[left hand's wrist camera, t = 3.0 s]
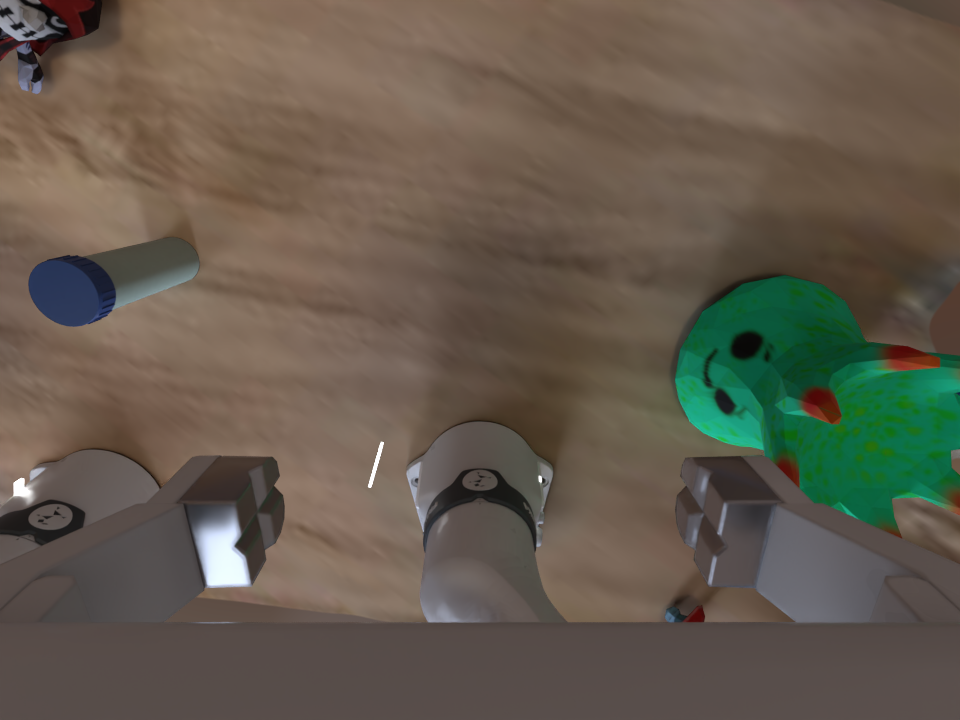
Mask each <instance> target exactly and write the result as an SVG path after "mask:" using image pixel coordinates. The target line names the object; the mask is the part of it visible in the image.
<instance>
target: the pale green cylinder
mask: <svg viewBox="0 0 960 720" xmlns="http://www.w3.org/2000/svg"><path fill="white" fill-rule="evenodd" d="M85 257H86V258H87V259H89V260H92V261H94V262H95V263H97V264H98V265H99V266H101V267H102V268H103V269H104V270H105V271H106V272H107V274H108V275H109V276H110V278H111V280H112V281H113V284H114V287H115V291H116V302H115V305H114V307H113V309H116V308H119V307H121V306H124V305H126V304H129V303H131V302H134V301H137V300H139V299H142V298H144V297H147V296H149V295H152V294H155V293H157V292H160V291H162V290H165V289H168V288H170V287H173V286H175V285H178V284H180V283H183V282H186V281H188V280H190V279H192V278H193V277H194V276H195V275H196V274H197V272H198V269H199V258H198V255H197V253H196V251H195V250H194V248H193V247H192V246H191V245H190V244H189V243H187V242H186V241H184V240H182V239H180V238H176V237H169V238H164V239H160V240H155V241H151V242H146V243H142V244H137V245H133V246H129V247H124V248H120V249H115V250H111V251H106V252H102V253H97V254H93V255H89V256H84V258H85ZM113 309H112V310H113Z"/></svg>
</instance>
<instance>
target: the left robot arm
mask: <svg viewBox="0 0 960 720" xmlns="http://www.w3.org/2000/svg"><path fill="white" fill-rule="evenodd" d="M383 443H384V442H381V444H380V447H379V450H378V454H377V458H376V461H375V465H374V468H373V472H372V475H371V479H370V483H369V486H368V487H370V488H371V485H372V482H373V479H374V475H375V472H376V468H377V465H378V461H379V458H380V454H381V451H382V447H383ZM279 477H280V474H279V469H278V464H277V461H276V460H275V459H274V458H273V457H260V456H220V455H215V456H195V457H192V458H191V459H190V460H189V461H188V462H187V463H186V464H185V465H184V466H183V467H182V468H181V469H180V470H179V471H178V472H177V473H176V474H175V475H174V476H173V477H172V478H171V479H170V480H169V481H168V482H167V483H166V484H165V485H164V486H163V487H162V488H161V489H160V490H159V491H158V492H157V493H156V494H155V495H154V496H153V497H152V498H151V499H149V500H148V501H147V502H146V503H137V504H135V505H132V506H130V507H128V508H126V509H123V510H121V511H119V512H117V513H114V514H112V515H110V516H108V517H105V518H103V519H101V520H99V521H96V522H94V523H92V524H90V525H87V526H85V527H83V528H81V529H78V530H76V531H74V532H72V533H69V534H67V535H65V536H63V537H60V538H58V539H56V540H54V541H51V542H49V543H47V544H45V545H42V546H40V547H38V548H36V549H33V550H31V551H29V552H27V553H24V554H22V555H20V556H18V557H15V558H13V559H11V560H9V561H6V562H4V563H2V564H0V720H960V564H958V563H956V562H953V561H951V560H949V559H947V558H944V557H942V556H940V555H938V554H935V553H933V552H931V551H929V550H926V549H924V548H922V547H920V546H917V545H915V544H913V543H911V542H908V541H906V540H904V539H902V538H899V537H897V536H895V535H893V534H890V533H888V532H886V531H884V530H881V529H879V528H877V527H875V526H872V525H870V524H868V523H866V522H863V521H861V520H859V519H857V518H854V517H852V516H850V515H848V514H845V513H843V512H841V511H839V510H837V509H834V508H832V507H830V506H828V505H825V504H823V503H814V502H813V501H812V500H811V499H810V498H809V497H808V496H807V495H806V494H805V493H804V492H803V491H801V490H800V489H799V488H798V487H797V486H796V485H795V484H794V483H793V482H792V481H791V480H790V479H789V478H788V477H787V476H786V475H785V474H784V473H783V472H782V471H781V470H780V469H779V468H778V467H777V466H776V465H775V464H774V463H773V462H772V461H771V460H770V459H769V458H768V457H765V456H763V455H755V456H725V457H689V458H685V460H684V462H683V464H682V468H681V474H680V477H681V478H682V480H683V481H684V483H685V484H686V486H685V487H684V488H683V489H682V491H681V492H680V493H679V494H678V495H677V499H676V507H675V512H676V523H677V527H678V530H679V533H680V535H681V537H682V539H683V541H684V543H685V544H687V545H688V546H690V547H691V548H693V549H694V550H695V555H694V561H695V563H696V565H697V567H698V569H699V570H700V572H701V574H702V576H703V578H704V579H705V581H706V583H707V585H708V586H710V587H746V588H756V591H758V592H759V593H760V594H761V595H763V596H764V597H765V598H766V599H768V600H769V601H770V602H772V603H773V604H774V605H775V606H777V607H778V608H779V609H780V610H782V611H783V612H784V613H786V614H787V615H788V616H789V617H791V618H792V619H793V620H794V621H796V622H567V621H566V620H565V619H564V617H563V616H562V615H561V614H560V613H559V612H558V611H557V609H556V608H555V607H554V606H553V604H552V603H551V601H550V600H549V598H548V597H547V595H546V593H545V591H544V589H543V586H542V582H541V579H540V575H539V571H538V567H537V562H536V557H535V551H536V547H539V546H540V545H541V542H542V529H541V528H539V527H538V526H539V524H543V523H544V512H543V509H544V505H545V502H546V498H547V495H548V491H549V488H550V484H551V481H552V478H553V467H552V465H551V464H550V463H549V462H547V461H546V460H544V459H543V458H541V457H539V456H537V455H536V454H535V453H534V452H533V451H532V450H531V448H530V447H529V445H528V444H527V443H526V442H525V440H524V439H523V438H522V437H521V436H520V435H518V434H517V433H516V432H514V431H513V430H511V429H509V428H507V427H505V426H502V425H499V424H496V423H491V422H469V423H464V424H461V425H458V426H455V427H453V428H451V429H449V430H447V431H446V432H444V433H443V434H442V435H440V436H439V437H438V438H437V439H436V440H435V442H434V443H433V444H432V445H431V447H430V448H429V450H428V451H427V452H426V453H425V454H424V455H423V456H421V457H419V458H418V459H416V460H414V461H413V462H411V463H410V464H409V465H408V467H407V478H408V481H409V484H410V488H411V491H412V495H413V498H414V502H415V505H416V508H417V512H418V515H419V519H420V522H421V526H422V529H423V535H424V537H423V546H424V551H425V559H424V566H423V573H422V580H421V588H420V601H421V606H422V610H423V613H424V615H425V617H426V619H427V621H428V622H164V621H166V620H167V619H168V618H170V617H171V616H172V615H173V614H175V613H176V612H177V611H178V610H180V609H181V608H182V607H183V606H185V605H186V604H187V603H189V602H190V601H191V600H192V599H194V598H195V597H196V596H198V595H199V594H200V593H201V592H203V591H204V588H214V587H249V586H252V585H253V583H254V581H255V579H256V578H257V576H258V574H259V572H260V570H261V569H262V567H263V565H264V563H265V561H266V555H265V550H266V549H267V548H269V547H270V546H272V545H273V544H275V543H276V541H277V539H278V537H279V535H280V533H281V530H282V526H283V521H284V509H285V506H284V499H283V495H282V494H281V493H280V492H279V491H278V489H277V488H276V487H275V486H274V484H275V483H276V481H277V480H278V478H279ZM416 478H418V480H416ZM542 478H544V480H542Z"/></svg>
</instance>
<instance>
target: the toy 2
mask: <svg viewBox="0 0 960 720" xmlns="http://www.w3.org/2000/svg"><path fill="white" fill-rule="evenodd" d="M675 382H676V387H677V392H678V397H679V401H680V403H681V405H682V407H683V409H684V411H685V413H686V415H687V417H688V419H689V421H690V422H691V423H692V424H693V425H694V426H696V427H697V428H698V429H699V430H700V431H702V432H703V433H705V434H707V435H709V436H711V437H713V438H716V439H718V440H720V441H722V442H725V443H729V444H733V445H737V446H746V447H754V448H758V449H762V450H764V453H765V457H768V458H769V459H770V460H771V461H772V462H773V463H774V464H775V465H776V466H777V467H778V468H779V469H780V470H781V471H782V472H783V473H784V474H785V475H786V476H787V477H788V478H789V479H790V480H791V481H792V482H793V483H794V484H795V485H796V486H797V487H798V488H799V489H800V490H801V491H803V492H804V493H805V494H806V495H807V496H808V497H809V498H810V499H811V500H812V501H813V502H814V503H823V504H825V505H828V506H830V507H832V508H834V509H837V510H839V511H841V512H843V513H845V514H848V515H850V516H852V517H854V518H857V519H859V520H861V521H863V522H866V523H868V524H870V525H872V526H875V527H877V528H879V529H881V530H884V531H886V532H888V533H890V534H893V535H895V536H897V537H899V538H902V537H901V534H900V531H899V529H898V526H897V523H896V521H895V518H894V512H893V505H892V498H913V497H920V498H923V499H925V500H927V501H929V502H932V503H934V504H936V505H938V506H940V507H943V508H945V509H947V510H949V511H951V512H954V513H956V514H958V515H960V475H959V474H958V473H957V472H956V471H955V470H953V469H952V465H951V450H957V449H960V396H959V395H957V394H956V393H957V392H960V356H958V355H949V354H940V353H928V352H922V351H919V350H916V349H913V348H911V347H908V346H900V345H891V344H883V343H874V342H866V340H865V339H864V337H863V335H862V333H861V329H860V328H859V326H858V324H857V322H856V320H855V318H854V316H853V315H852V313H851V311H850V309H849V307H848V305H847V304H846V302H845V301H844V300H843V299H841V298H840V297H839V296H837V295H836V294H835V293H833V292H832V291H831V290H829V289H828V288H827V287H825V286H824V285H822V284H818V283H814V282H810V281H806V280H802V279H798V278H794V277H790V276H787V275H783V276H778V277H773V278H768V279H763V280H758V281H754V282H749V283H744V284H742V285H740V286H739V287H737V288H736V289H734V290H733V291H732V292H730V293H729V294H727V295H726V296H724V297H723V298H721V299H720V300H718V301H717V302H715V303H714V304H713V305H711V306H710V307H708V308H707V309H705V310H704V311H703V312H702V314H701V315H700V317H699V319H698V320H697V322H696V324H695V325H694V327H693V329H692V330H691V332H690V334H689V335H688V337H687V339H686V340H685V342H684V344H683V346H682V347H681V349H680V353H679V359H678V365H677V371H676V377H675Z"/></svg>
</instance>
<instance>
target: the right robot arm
mask: <svg viewBox="0 0 960 720" xmlns="http://www.w3.org/2000/svg"><path fill="white" fill-rule="evenodd" d="M159 490H160V488H159V487H158V485H157V483H156V482H155V480H154V479H153V478H152V477H151V475H150V474H149V473H148V472H147V471H146V470H144V469H143V468H142V467H141V466H140V465H138V464H137V463H135V462H134V461H132V460H130V459H128V458H126V457H124V456H122V455H119V454H116V453H113V452H109V451H104V450H82V451H78V452H75V453H72V454H70V455H68V456H66V457H65V458H63V459H61V460H59V461H57V462H49V463H42V464H39V465H37V466H36V467H35V468H33V469H32V470H31V471H30V482H29V483H28V484H26V485H25V486H24V479H22V478H21V479H19V480H18V481H16V482H15V483H14V495H13V496H12V497H11V498H10V499H8V500H7V501H6V502H5V503H4V504H2V505H1V506H0V564H2V563H4V562H6V561H9V560H11V559H13V558H15V557H18V556H20V555H22V554H24V553H27V552H29V551H31V550H33V549H36V548H38V547H40V546H42V545H45V544H47V543H49V542H51V541H54V540H56V539H58V538H60V537H63V536H65V535H67V534H69V533H72V532H74V531H76V530H78V529H81V528H83V527H85V526H87V525H90V524H92V523H94V522H96V521H99V520H101V519H103V518H105V517H108V516H110V515H112V514H114V513H117V512H119V511H121V510H123V509H126V508H128V507H130V506H132V505H135V504H137V503H146V502H147V501H148V500H149V499H151V498H152V497H153V496H154V495H155V494H156V493H157V492H158V491H159Z"/></svg>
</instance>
